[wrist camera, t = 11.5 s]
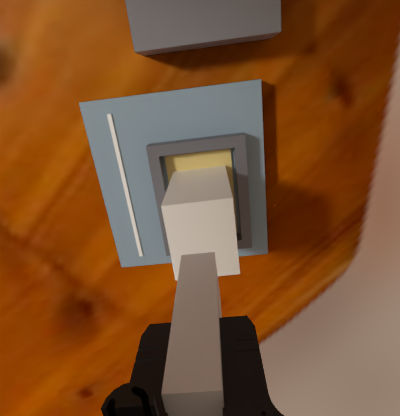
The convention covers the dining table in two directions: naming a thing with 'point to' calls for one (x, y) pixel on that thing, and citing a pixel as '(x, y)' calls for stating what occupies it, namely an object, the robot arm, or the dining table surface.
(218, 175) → the plug
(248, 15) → the grey push button box
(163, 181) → the board
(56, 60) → the dining table surface
